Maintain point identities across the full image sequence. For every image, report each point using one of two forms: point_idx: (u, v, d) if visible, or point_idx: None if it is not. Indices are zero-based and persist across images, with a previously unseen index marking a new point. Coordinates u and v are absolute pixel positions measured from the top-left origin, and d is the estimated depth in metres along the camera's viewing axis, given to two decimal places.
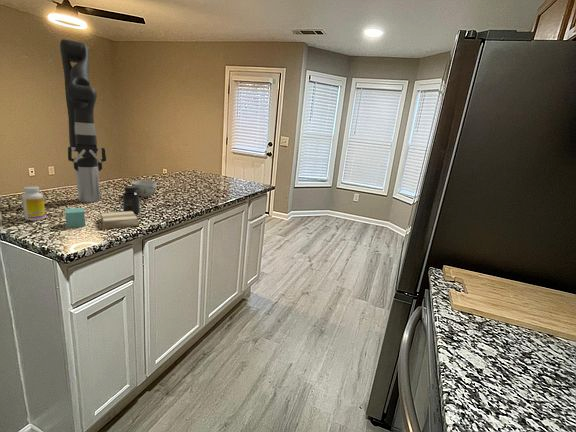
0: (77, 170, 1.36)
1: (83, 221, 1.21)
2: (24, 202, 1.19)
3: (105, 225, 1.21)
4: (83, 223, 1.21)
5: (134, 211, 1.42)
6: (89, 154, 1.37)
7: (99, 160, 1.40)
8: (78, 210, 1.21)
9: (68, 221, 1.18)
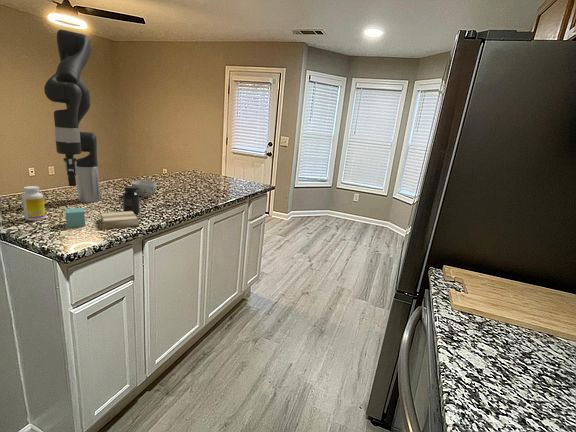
0: None
1: (83, 221, 1.21)
2: (24, 202, 1.19)
3: (105, 225, 1.21)
4: (83, 223, 1.21)
5: (134, 211, 1.42)
6: None
7: None
8: (78, 210, 1.21)
9: (68, 221, 1.18)
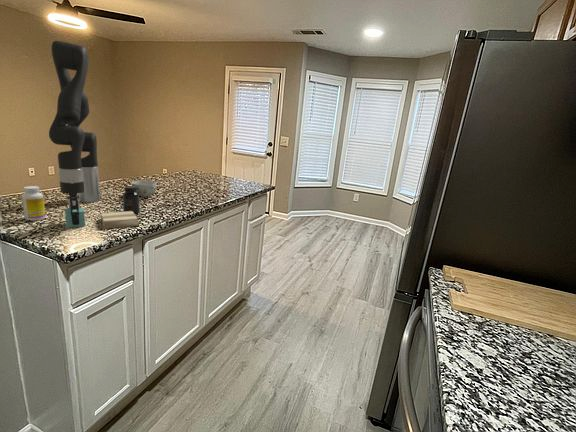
0: None
1: (83, 221, 1.21)
2: (24, 202, 1.19)
3: (105, 225, 1.21)
4: (83, 223, 1.21)
5: (134, 211, 1.42)
6: None
7: None
8: None
9: (68, 221, 1.18)
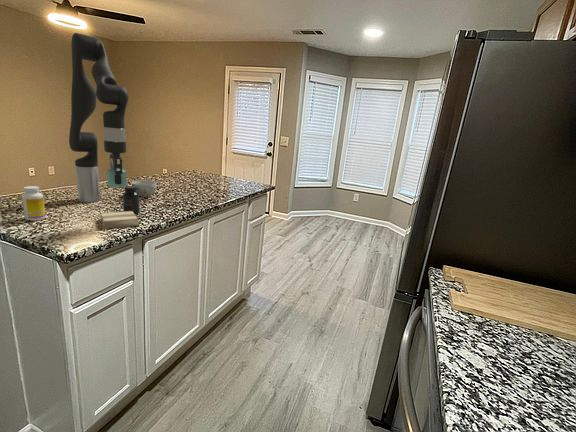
0: None
1: (125, 181, 1.24)
2: (24, 202, 1.19)
3: (105, 225, 1.21)
4: (125, 183, 1.24)
5: (134, 211, 1.42)
6: None
7: None
8: None
9: (111, 180, 1.21)
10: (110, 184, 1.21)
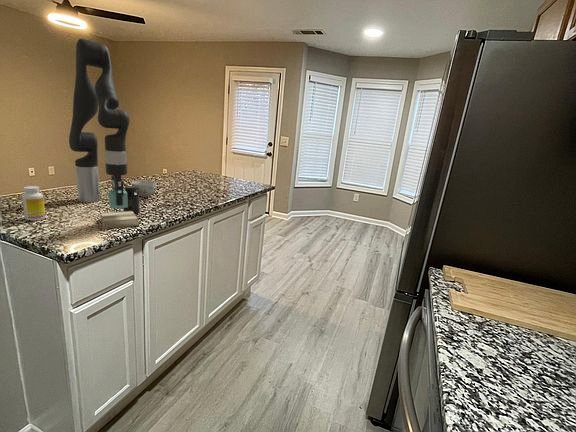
0: (122, 204, 1.25)
1: (126, 202, 1.26)
2: (24, 202, 1.19)
3: (105, 225, 1.21)
4: (126, 204, 1.26)
5: (134, 211, 1.42)
6: None
7: None
8: None
9: (112, 201, 1.23)
10: (112, 205, 1.23)
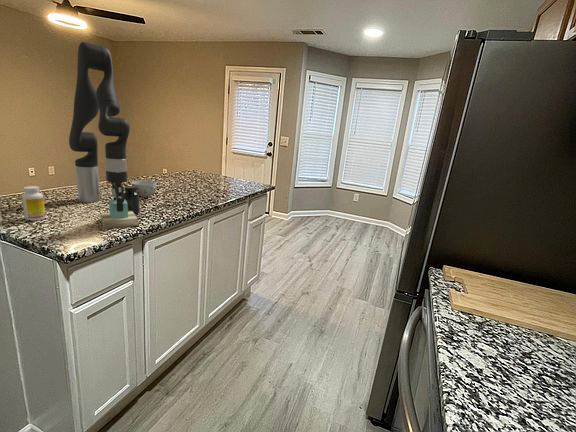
0: None
1: (126, 212, 1.27)
2: (24, 202, 1.19)
3: (105, 225, 1.21)
4: (126, 214, 1.27)
5: (134, 211, 1.42)
6: None
7: None
8: None
9: (113, 212, 1.24)
10: (112, 216, 1.24)
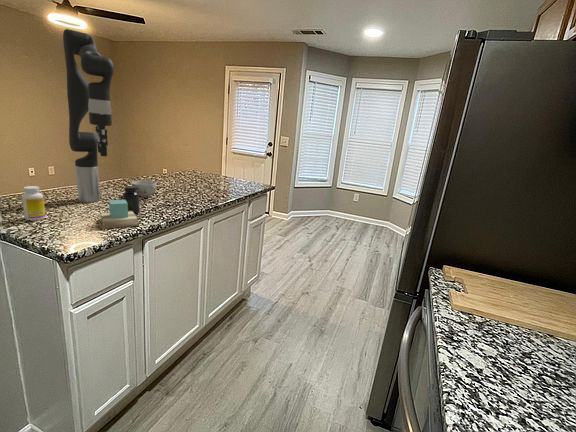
0: (106, 155, 1.22)
1: (126, 212, 1.27)
2: (24, 202, 1.19)
3: (105, 225, 1.21)
4: (126, 214, 1.27)
5: (134, 211, 1.42)
6: None
7: None
8: (121, 202, 1.27)
9: (113, 212, 1.24)
10: (112, 216, 1.24)
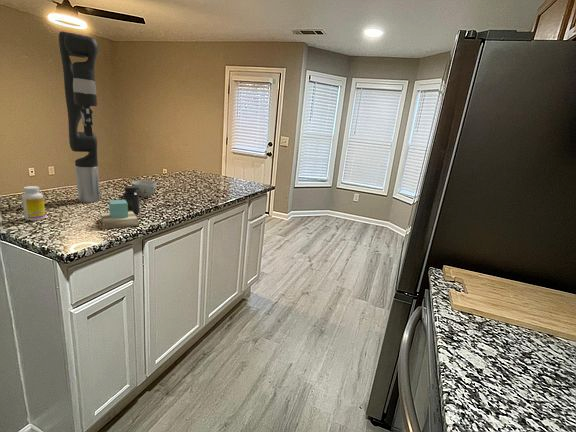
0: (92, 135, 1.22)
1: (126, 212, 1.27)
2: (24, 202, 1.19)
3: (105, 225, 1.21)
4: (126, 214, 1.27)
5: (134, 211, 1.42)
6: None
7: None
8: (121, 202, 1.27)
9: (113, 212, 1.24)
10: (112, 216, 1.24)
